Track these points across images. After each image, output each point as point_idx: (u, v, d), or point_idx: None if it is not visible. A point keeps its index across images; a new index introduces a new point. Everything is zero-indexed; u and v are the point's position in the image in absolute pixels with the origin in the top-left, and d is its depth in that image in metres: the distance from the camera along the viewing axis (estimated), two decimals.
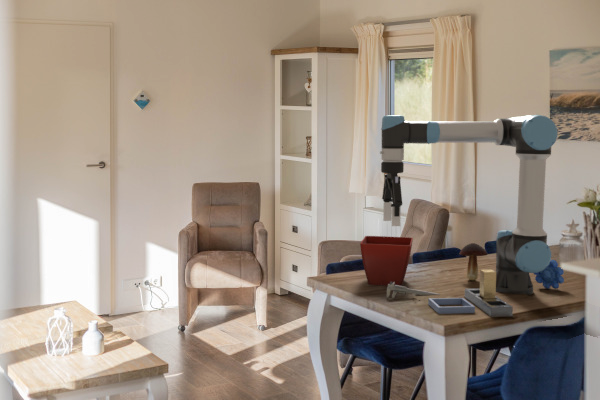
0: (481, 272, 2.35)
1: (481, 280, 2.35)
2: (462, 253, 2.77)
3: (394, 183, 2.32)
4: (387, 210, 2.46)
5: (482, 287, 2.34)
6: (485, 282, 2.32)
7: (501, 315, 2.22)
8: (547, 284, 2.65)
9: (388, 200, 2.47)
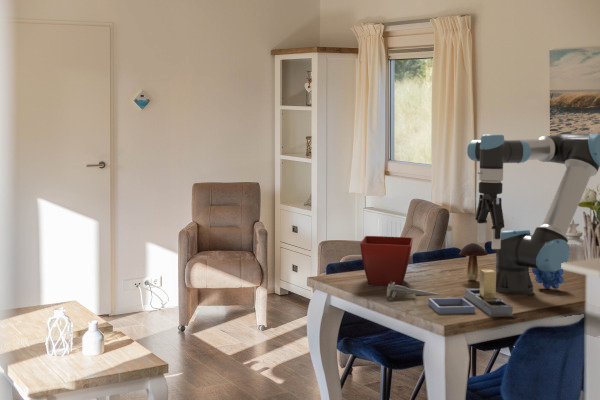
0: (481, 272, 2.35)
1: (481, 280, 2.35)
2: (462, 253, 2.77)
3: (495, 205, 2.25)
4: (481, 231, 2.39)
5: (482, 287, 2.34)
6: (485, 282, 2.32)
7: (501, 315, 2.22)
8: (547, 284, 2.65)
9: (482, 221, 2.40)
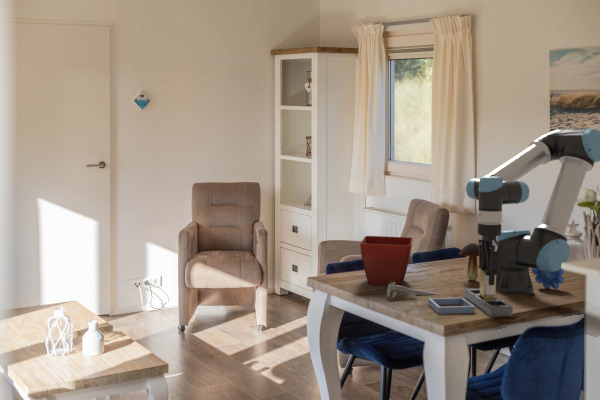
0: (481, 272, 2.35)
1: (481, 280, 2.35)
2: (462, 253, 2.77)
3: (493, 252, 2.27)
4: None
5: (482, 287, 2.34)
6: (485, 282, 2.32)
7: (501, 315, 2.22)
8: (547, 284, 2.65)
9: (486, 269, 2.37)
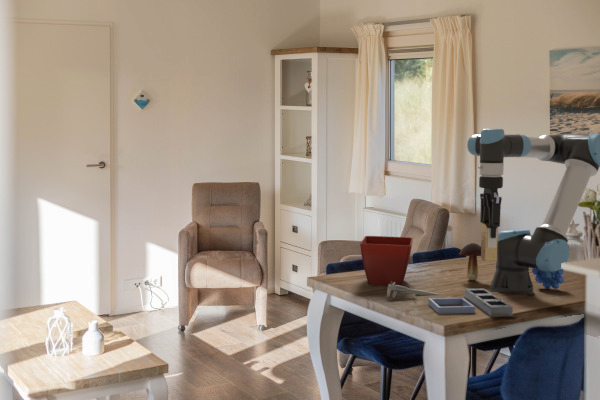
0: (483, 226, 2.33)
1: (483, 234, 2.33)
2: (462, 253, 2.77)
3: (494, 204, 2.26)
4: None
5: (484, 240, 2.32)
6: (487, 235, 2.31)
7: (501, 315, 2.22)
8: (547, 284, 2.65)
9: None
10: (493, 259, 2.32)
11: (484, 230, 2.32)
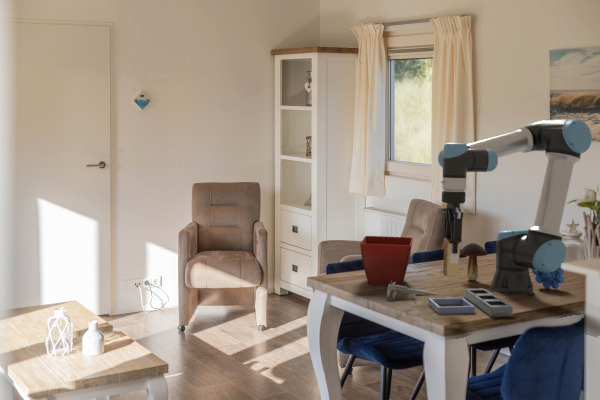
0: (445, 240, 2.30)
1: (445, 249, 2.30)
2: (462, 253, 2.77)
3: (456, 219, 2.23)
4: None
5: (446, 256, 2.29)
6: (448, 250, 2.28)
7: (501, 315, 2.22)
8: (547, 284, 2.65)
9: None
10: (455, 275, 2.29)
11: (446, 245, 2.29)
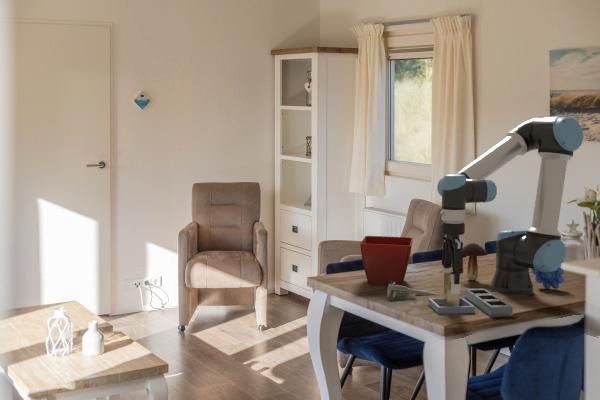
0: (445, 275, 2.32)
1: (445, 283, 2.32)
2: None
3: (456, 249, 2.24)
4: None
5: (446, 290, 2.31)
6: (448, 285, 2.29)
7: (501, 315, 2.22)
8: (547, 284, 2.65)
9: (448, 265, 2.36)
10: None
11: (446, 280, 2.30)
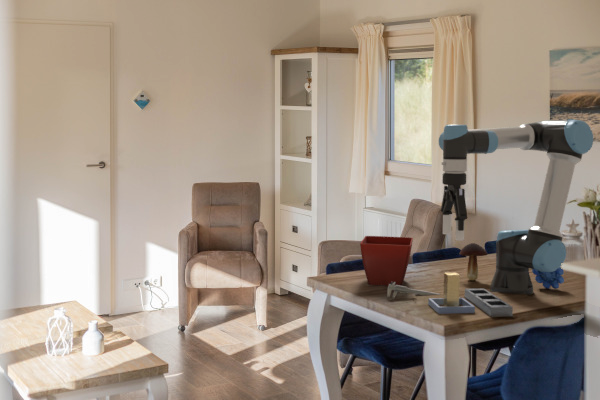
0: (445, 275, 2.32)
1: (445, 283, 2.32)
2: (462, 253, 2.77)
3: (458, 196, 2.21)
4: (447, 223, 2.36)
5: (446, 290, 2.31)
6: (448, 285, 2.29)
7: (501, 315, 2.22)
8: (547, 284, 2.65)
9: (447, 213, 2.36)
10: None
11: (446, 280, 2.30)
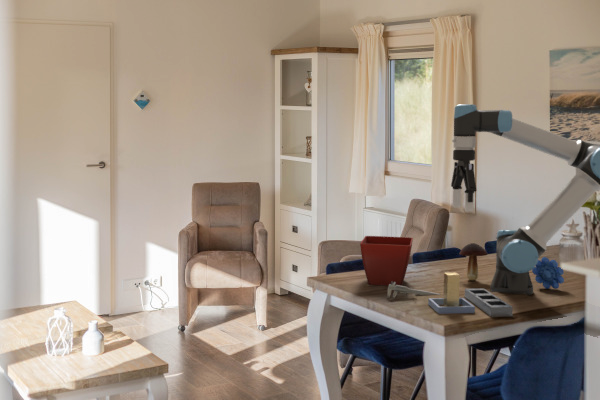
0: (445, 275, 2.32)
1: (445, 283, 2.32)
2: (462, 253, 2.77)
3: (468, 170, 2.39)
4: (456, 197, 2.54)
5: (446, 290, 2.31)
6: (448, 285, 2.29)
7: (501, 315, 2.22)
8: (547, 284, 2.65)
9: (457, 187, 2.54)
10: None
11: (446, 280, 2.30)
